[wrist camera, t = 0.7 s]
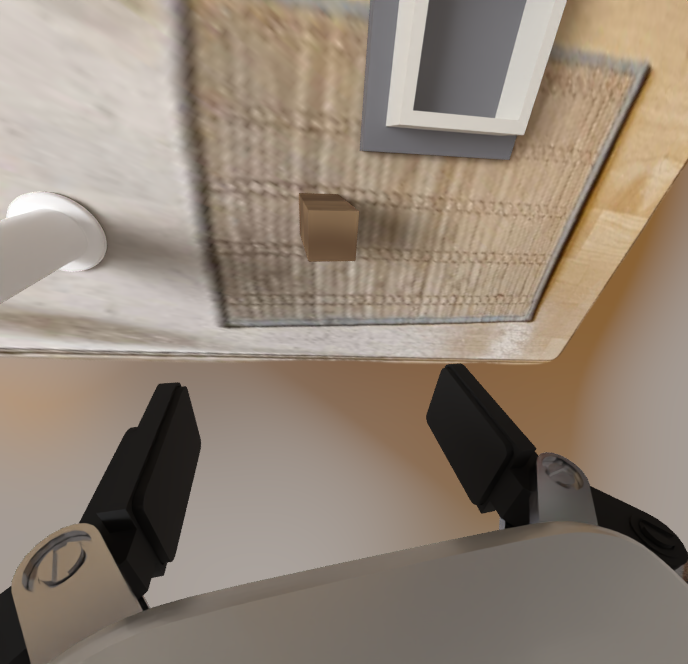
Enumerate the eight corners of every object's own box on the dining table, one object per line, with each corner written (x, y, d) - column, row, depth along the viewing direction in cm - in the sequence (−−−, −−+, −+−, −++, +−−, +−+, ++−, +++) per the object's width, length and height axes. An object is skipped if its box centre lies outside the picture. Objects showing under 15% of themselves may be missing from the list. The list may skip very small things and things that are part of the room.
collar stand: (379, -125, 20) (405, -189, 16) (571, -75, 23) (631, -118, 19) (359, 150, 29) (373, 151, 25) (501, 159, 32) (533, 161, 28)
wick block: (299, 193, 30) (308, 210, 22) (337, 194, 30) (359, 211, 23) (300, 233, 32) (308, 261, 24) (336, 233, 32) (355, 260, 25)
